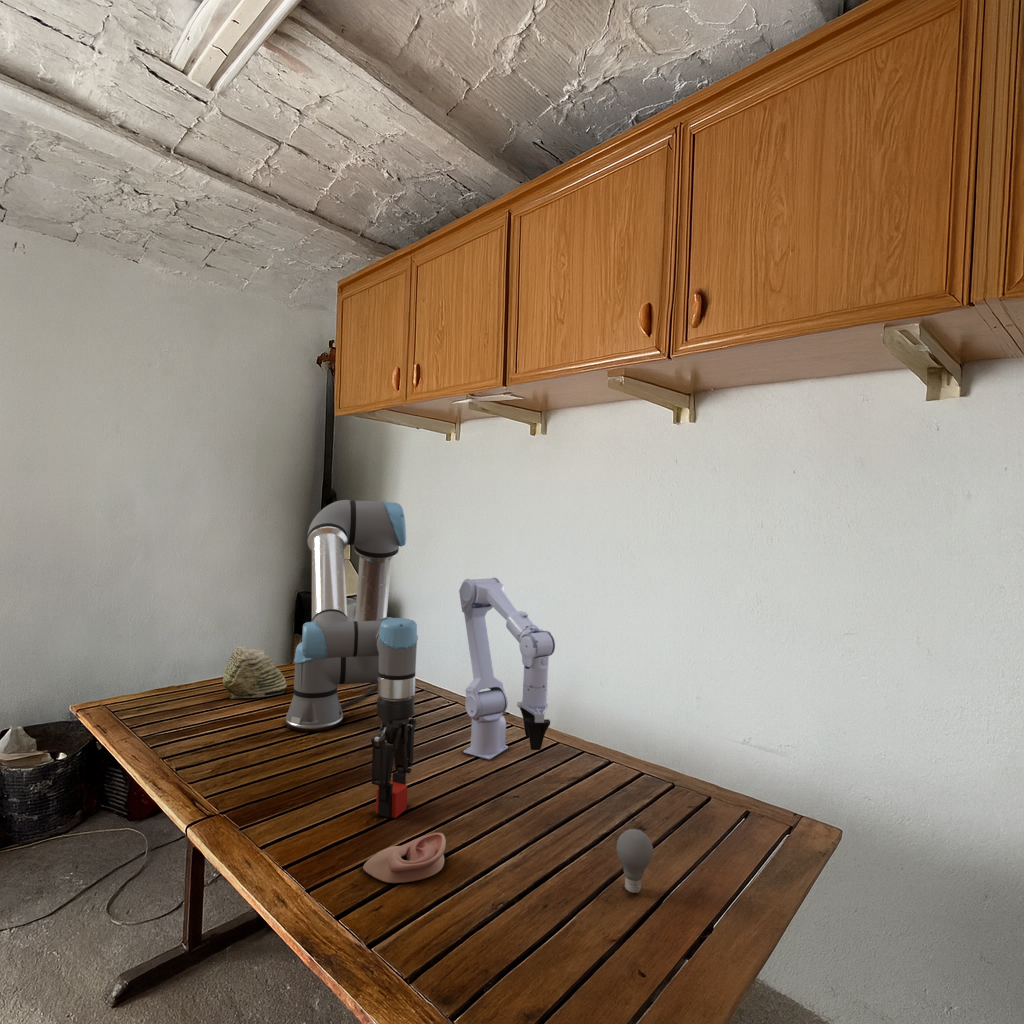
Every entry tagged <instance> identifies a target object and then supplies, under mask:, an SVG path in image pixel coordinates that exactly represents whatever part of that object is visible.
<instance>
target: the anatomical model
mask: <svg viewBox="0 0 1024 1024" xmlns="http://www.w3.org/2000/svg"><path fill="white" fill-rule="evenodd" d="M446 845H447V841H446V835H444V834H443V833H442V832H433V833H429V834H426V835H422V836H420V837H418V838H415V839H413V840H411V841H409V842H406V843H404V844H402V845H395V846H390V847H386V848H384V849H382V850H380V851H378V852H377V853H375V854H374V855H372V856H371V857H370V858H368V859H367V860H366V862H364V864H363V867H362V869H363V871H365V873H367V874H368V875H370V876H371V877H373V878H374V879H376V880H379V881H381V882H384V883H388V884H399V883H400V884H401V883H409V882H410V883H411V882H416V881H420V880H424V879H427V878H429V877H432V876H435V875H436V874H438V873H439V872H440V871H442V869H443V868H444V865H445V855H444V853H445V850H446Z"/></svg>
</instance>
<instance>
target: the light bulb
mask: <svg viewBox="0 0 1024 1024" xmlns="http://www.w3.org/2000/svg"><path fill="white" fill-rule="evenodd" d="M615 849H616V854H617V857H618V859H619V861H620V863H621V865H622V867H623V873H624V874H623V875H624V876H625V878H624V888H625V890H627V891H628V892H630V893H634V894H635V893H639V892H640V891H641V889H642V887H641V886H642V879H643V877H644V875H645V871H646V868H647V867H648V866H649V864H650V863H651V861H652V859H653V855H654V847H653V843H652V841H651V838H649V836H648V835H647V834H646V833H645V832H643V831H642V830H641V829H636V828H629V829H627V830H625V831H623V832H622V833H621V834H620V835H619V837H618V839H617V841H616V847H615Z"/></svg>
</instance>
